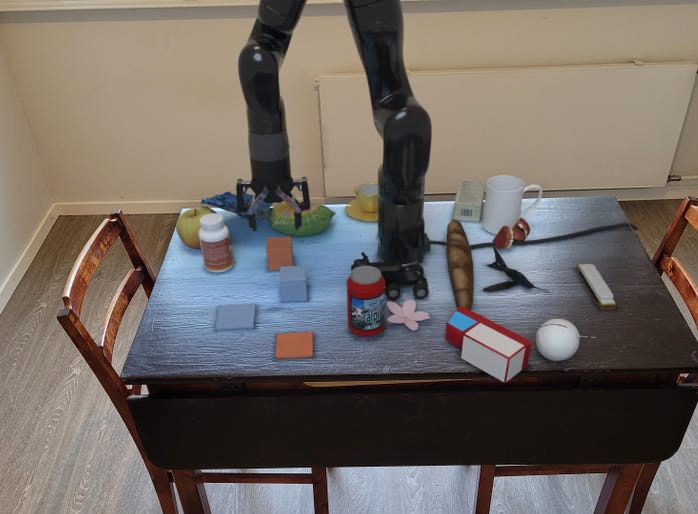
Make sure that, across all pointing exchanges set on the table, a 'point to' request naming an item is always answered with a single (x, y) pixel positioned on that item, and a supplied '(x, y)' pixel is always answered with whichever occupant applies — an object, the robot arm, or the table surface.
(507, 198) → the mug
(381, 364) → the table surface
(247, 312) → the slate-blue mat
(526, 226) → the dentures model
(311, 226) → the educational model
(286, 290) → the slate-blue block
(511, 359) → the toy truck
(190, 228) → the apple
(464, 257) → the bread
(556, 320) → the seamed sphere
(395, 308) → the flower
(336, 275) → the table surface
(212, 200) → the rock
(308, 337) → the terracotta mat
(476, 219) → the cosmetic box
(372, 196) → the cup
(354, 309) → the beverage can
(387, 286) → the toy vehicle
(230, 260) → the pill bottle
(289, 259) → the terracotta block
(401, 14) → the robot arm
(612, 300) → the harmonica
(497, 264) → the bird model
